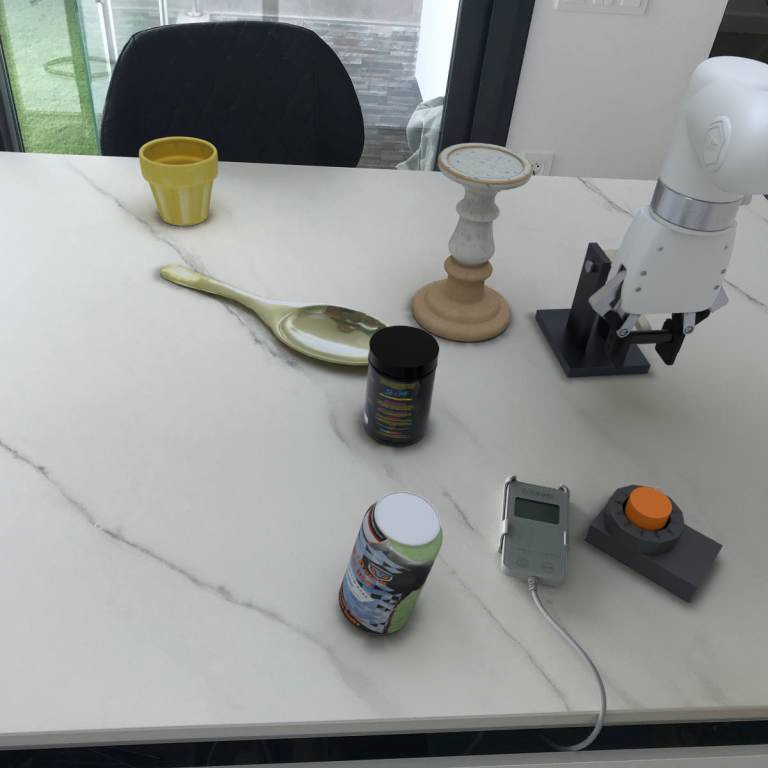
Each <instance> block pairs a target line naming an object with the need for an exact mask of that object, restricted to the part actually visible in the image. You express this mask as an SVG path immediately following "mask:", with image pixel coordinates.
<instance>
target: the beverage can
mask: <svg viewBox="0 0 768 768" xmlns="http://www.w3.org/2000/svg"><path fill="white" fill-rule="evenodd" d="M440 517H441V516H440V514H439V512H438V510H437V508H436V507H435V505H433V504H432V503H431V502H430V501H429V500H428V499H426V498H425V497H423V496H422V495H419V494H417V493H414V492H410V491H405V490H399V491H398V490H397V491H392V492H389V493H388V492H387V494H385V495H382V496H381V498H380V499H378V500H376V501H375V502H374V503H372V504H371V505H370V506H369V507H368V509H367V510H366V512H365V514H364V515H363V518H362V522H361V524H360V526H359V530H358V533H357V536H356V539H355V542H354V545H353V547H352V551H351V554H350V556H349V560H348V562H347V567H346V569H345V571H344V575H343V577H342V581H341V584H340V587H339V590H338V591H339V592H338V605H339V608H340V610H341V612H342V614H343V616H344V617H345V618H346V620H347V621H348V622H349V623H350V624H351V625H352V626H353V627H355V628H356V629H358V630H360V631H362V632H364V633H367V634H370V635H379V636H380V635H381V636H382V635H389V634H393V633H395V632H396V631H400V629H402V628H403V627H404V626H405V625H406V624H407V622H409V619H410V617H411V615H412V612H413V610H414V609H415V606H416V605H417V602H418V599H419V597H420V595H421V592H422V591H423V588H424V585H425V584H426V582H427V579H428V577H429V574H430V573H431V570H432V567H433V566H434V564H435V562H436V559H437V557H438V555H439V553H440V551H441V548H442V545H443V540H444V533H443V527H442V524H441V523H442V522H441V518H440Z"/></svg>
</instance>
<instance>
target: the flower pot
mask: <svg viewBox="0 0 768 768" xmlns="http://www.w3.org/2000/svg"><path fill="white" fill-rule="evenodd" d="M218 156H219V155H218V150H217V148H216V147H215V146H214V145H213V144H212V143H211V142H209V141H207V140H205V139H204V140H203V139H201V138H197V137H189V136H167V137H160V138H156V139H153V140H150V141H148V142H146V143H145V144H143V145H142V146H141V147H140V148H139V150H138V157H139V166H140V172H141V176H142V177H143V179H144V180H145V181H146V182H148V185H149V188H150V190H151V193H152V196H153V198H154V202H155V205H156V207H157V210H158V213H159V215H160V218H161V219H162V220H163V221H164V222H165V223H167V224H169V225H174V226H178V227H188V226H189V227H190V226H195V225H198V224H201V223H203V222H204V221H206V220H207V218H208V216H209V211H210V205H211V198H212V191H213V186H214V180H215V179H216V178H217V177H218V175H219V157H218Z"/></svg>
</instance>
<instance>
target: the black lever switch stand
mask: <svg viewBox="0 0 768 768" xmlns="http://www.w3.org/2000/svg"><path fill="white" fill-rule="evenodd" d="M603 250H604V249H602V247H601V246H600V244H599V243H598V242H588V245H587V249H586V252H585V256H584V259H583V262H582V266H581V270H580V274H579V277H578V281H577V284H576V288H575V292H574V297H573V299H572V303H571V307H570V308H545V309H543V308H542V309H536V312H535V315H534V318H535V320H536V322H537V324H538V326H539V327H540V329H541V331H542V333H543V335H544V337H545V339H546V341H547V342H548V344H549V346H550V348H551V349H552V351H553V353H554V355H555V356H556V358H557V361H558V362H559V364H560V366H561V367H562V370H563V371H564V373H565V375H566V377H567V378H575V377H591V376H592V377H593V376H612V375H631V374H632V375H634V374H648V373H649V371H650V368H651V363H650V362H649V360H648V358H647V357H646V356H645V355H644V353H643V351H642V350H641V349H640V347H639V345H638V344H636V345H630V347H629V350H628V353H627V355H626V358H625V361H624V364H623V366H622V367H621V368H615V367H614V365H613V364H612V362H611V360H610V359H609V357H608V356H607V355H606V353H605V351H604V346H605V343H606V340H607V337H608V333H609V330H610V327H611V326H610V325H609V324H608V323H607V321H606V320H605V319H604V318H603V317H601V316H600V315H599V314H598V313H597V312H596V311H595V310H594V309H593V308H592V306H591V305H590V303H589V301H588V300H589V298H590V297H591V296H592V295H593V294H595V293H596V292H597V291H598V290H599V289H600V288H602V287H603V286H604V285H605V284H606V283H607V282H606V280H607V277H608V274H609V270H610V267H611V264H612V262H611V261H610V259H609V258H608V257H607V255H606V254H605V253H604V251H603ZM620 298H621V296H620V295H619V296H618V297H616V298H615V299H614V300H613V301H612V302H611V303H610V305H611V306H612V307H613V309H614V307H615V306H616V304H617V302H618V301H619V299H620ZM626 314H627V313H625V314H624V316H623V317H622V319H624V317H625V316H626Z"/></svg>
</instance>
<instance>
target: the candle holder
mask: <svg viewBox="0 0 768 768" xmlns="http://www.w3.org/2000/svg"><path fill="white" fill-rule="evenodd" d="M437 166H438V169H439V171H440V172H441V174H442V175H443V176H444V177H446V178H447V179H449V180H451V181H452V182H455V183H457V184H459V185H461V186H462V187H463V188H464V197H463V198H462V199H460V200H459V201H458V202H457V203H456V205H455V211H456V213H457V214H458V217H459V218H458V220H457V224H456V226H455V228H454V230H453V233H452V234H451V236H450V239H449V240H448V245H447V247H448V252H449V254H450V255H449V256H447V257H446V258H445V260H444V262H443V269H444V271H445V272H446V273H447V278H444V279H440V280H435V281H432V282H429V283H427V284H426V285H424V286H422V287H421V288H419V290H418V291H417V292H416V293H415V294H414V296H413V298H412V304H411V309H412V314H413V317H414V318H415V320H416V322H418V324H420V326H421V327H422V328H424V329H425V330H427V332H430V333H431V334H434V335H436V336H437V337H441V338H444V339H447V340H451V341H457V342H470V343H471V342H482V341H487V340H490V339H493V338H494V337H497V336H498V335H500V334H502V333H503V332H504V331H505V330H506V329H507V327H508V325H509V323H510V320H511V309H510V305H509V303H508V301H507V300H506V299H505V298H504V296H503V295H501V293H499V292H498V291H496V290H495V289H493V288H491V287H489V286H488V285H486V284H485V281H486V280H487V279H489V278H490V277H491V275H492V274H493V271H494V269H493V265H492V263H491V262H490V260H491V259H492V258H493V256H494V254H495V251H496V245H495V239H494V229H493V228H494V227H493V226H494V225H493V222H494V221H495V220H497V219H498V218H499V216H500V213H501V210H500V208H499V206H498V205H497V204H496V201H495V200H496V197H497V194H498V193H500V192H502V191H508V190H514V189H517V188H520V187H522V186H525V185H526V184H527V183H528V182H529V181H531V178H532V176H533V173H534V168H533V164H532V162H531V161H530V160H529V159H528V158H527V157H526V156H524V155H523V154H522V153H520V152H518V151H515V150H513V149H511V148H507V147H506V146H501V145H498V144H492V143H483V142H465V143H464V142H463V143H458V144H454V145H453V144H452V145H450V146H448V147H446V148H444V149H443V150H442V151H440V153H439V155H438V158H437Z"/></svg>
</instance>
